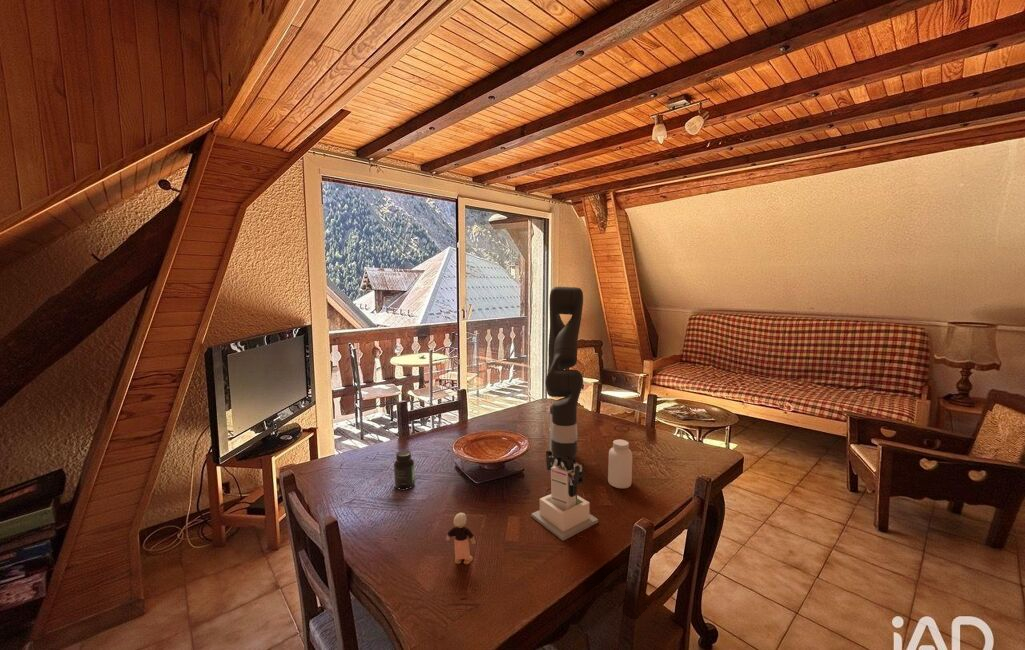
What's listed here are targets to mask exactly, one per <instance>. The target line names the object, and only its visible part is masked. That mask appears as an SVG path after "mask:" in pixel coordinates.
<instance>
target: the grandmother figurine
mask: <svg viewBox="0 0 1025 650" xmlns="http://www.w3.org/2000/svg"><path fill="white" fill-rule="evenodd" d="M452 524H453V525H454V527H452V528H451V529H450V530H449V531H448V532H447V535H446V537H445V540H446V541H447V542H448V541H450V539H451V538H453V537H454V555H455V556H454V557H455V558H454V560H455V561H454V563H455V564H458V565H459V564H461V563H463V564H464V565H469V564H470V563H471V562H472V561H473V556H472V555H471V553H470V552H471V551H470V543H469V540H470V541H471V544H472V545H475V544H476V542H477V541H476V540H475V537H474V534H473V533H472V531H471V530H470V529H469V527H466V524H467V515H466V514H465V512H459V513H457V514H456V515H455V516H454V518H453V522H452ZM468 538H469V539H468ZM462 561H463V562H462Z"/></svg>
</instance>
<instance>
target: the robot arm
mask: <svg viewBox="0 0 1025 650" xmlns="http://www.w3.org/2000/svg"><path fill="white" fill-rule="evenodd" d="M548 305H549V337H548V356H547V357H548V364H547V366H548V367H547V374H546V378H545V383H544V384H545V388H546V389H545V390H546V393H547V395H548V396H549V397H553V398H562V399H560V400H556V401H554V402H553V403H552V404H551V405H550V407H549V418H550V419H549V421H550V422H549V429H548V450H546V451H545V457H546V469H547V470H548V471H550V472H551V468H552V467H553V466H557V465H558V466H561V467H562V468H563V469H564V470H565V471H566V472H568V471H569V470H572V469H573V472H572V473H570V474H569V473H568V477H569V483H570V484H569V496H570V497H573V496H575V495H576V494H577V495H578V486H579V485H583V483H584V473H585V472H584V471H585V465H584V464H583V463H581V464H580V463H578V462H577V460H576V455H577V453H578V425H577V421H578V420H577V419H578V417H577V414H578V413H577V411H578V409H577V407H578V404H579V403H578V402H579V399H580V398H579V397H580V394H581V392H582V388H583V384H584V377H583V374H582V373H581V371H579V370H577V369H570V368H573V367H574V366H576V365H577V363H578V341H579V333H580V329H581V328H580V327H581V324H582V323H581V322H582V315H583V307H584V306H583V305H584V293H583V290H582V289H581V288H580V287H575V286H573V287H572V286H553V287H552V288H551V290H550V292H549V304H548ZM561 315H571V316H570V317H571V318H570V319H569V320H568V322H567V323H566V324H564V322H563V320H562V318H561ZM572 476H573V478H574V480H572Z"/></svg>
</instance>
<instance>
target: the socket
mask: <svg viewBox="0 0 1025 650" xmlns="http://www.w3.org/2000/svg"><path fill="white" fill-rule="evenodd" d="M530 514H531V515H530V516H531V518H532V519H534V520H535V521H536V522H537V523H539V524H540V525H542V526H543V527H544V528H545V529H547V530H548V531H550V532H551V533H552V534H553V535H555V536H556V537H557V538H558V539H560V540H561V541H563V542H564V541H566V540H568V539H569V538H571V537H573V536H575V535H577V534H579V533H581V532H583V531H584V530H586V529H588V528H590V527H592V526H594V525H596V524H598V523H599V519H598V518H597V517H595V516H594V515H593V514H591V513H590V501H588V500H586V499H584V498H583V497H581V496H580V495H578V494H577V505H576V506H574V507H572V508H570V509H568V510H566V511H564V512H563V511H562V510H561V509H559V508H558V507H556V506H555V505H553V504H552V503H551V493H550V494H547V495H545V496H543V497H541V498H539V509H538V510H537V511H534V512H531V513H530Z"/></svg>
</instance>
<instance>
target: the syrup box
mask: <svg viewBox="0 0 1025 650" xmlns="http://www.w3.org/2000/svg"><path fill="white" fill-rule="evenodd" d="M572 472H573V469H572V470H569V471H568V472H566V471H565V470H564V469H563V468H562V467H561V466H558V465H557V466H553V467H552V468H551V471H550V488H551V489H550V494H551V503H552V504H553V505H555V506H556V507H558V508H559V509H561V510H562V511H563V512H564V511H566V510H568V509H570V508H572V507H574V506H576V505H577V495H578V493H577V494H576V495H575V496H573V497H570V496H569V484H570V483H569V477H568V473H569V474H570V473H572ZM572 480H574V478H573V476H572Z"/></svg>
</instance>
